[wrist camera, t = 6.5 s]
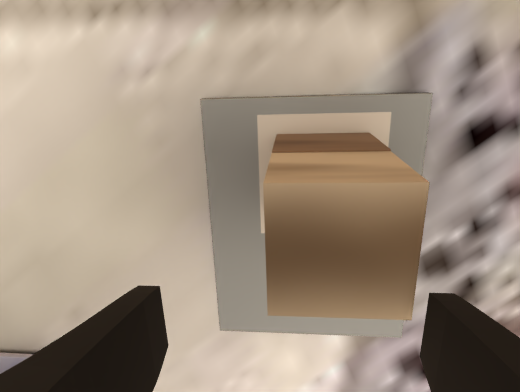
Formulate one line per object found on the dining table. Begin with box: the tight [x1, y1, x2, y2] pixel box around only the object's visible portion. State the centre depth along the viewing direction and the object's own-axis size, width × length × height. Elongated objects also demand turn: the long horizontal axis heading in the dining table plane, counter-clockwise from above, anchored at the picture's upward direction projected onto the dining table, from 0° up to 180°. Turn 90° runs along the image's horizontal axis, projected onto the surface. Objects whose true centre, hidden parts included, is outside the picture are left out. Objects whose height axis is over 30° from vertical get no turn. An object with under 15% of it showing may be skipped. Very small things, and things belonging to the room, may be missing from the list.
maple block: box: [263, 151, 429, 320], centre depth 12 cm, size 4×4×4 cm
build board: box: [200, 93, 433, 338], centre depth 19 cm, size 14×11×1 cm
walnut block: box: [272, 133, 391, 153], centre depth 16 cm, size 4×4×4 cm
